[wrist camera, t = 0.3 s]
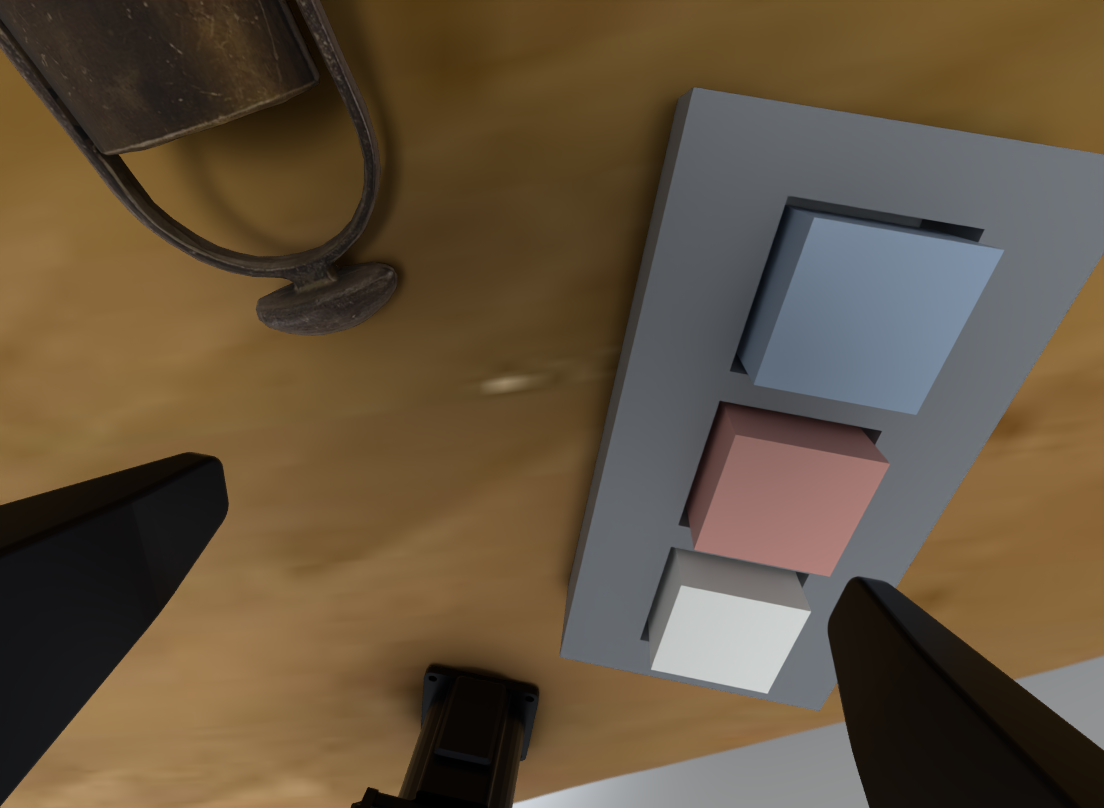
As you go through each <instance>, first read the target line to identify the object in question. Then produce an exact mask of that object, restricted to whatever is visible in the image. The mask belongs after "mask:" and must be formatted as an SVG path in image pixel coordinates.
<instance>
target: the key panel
mask: <svg viewBox="0 0 1104 808" xmlns="http://www.w3.org/2000/svg"><path fill="white" fill-rule="evenodd" d="M785 205H791V206H797V207H803V208H809V209H815V210H820V211H826V212H832V213H838V214H844V215H850V216H855V217H861V218H867V219H873V220H879V221H884V222H890V223H896V224H902V225H908V226H914V227H919V228H925V229H931V230H937V231H940V232H944V233H947V234H950V235H954V236H957V237H961V238H964V239H968V240H971V241H975V242H978V243H982V244H985V245H989V246H992V247H996V248H999V249H1003V250H1004V252H1003V254H1002V256H1001V258H1000V259H999V261H998V263H997V265H996V267H995V269H994V271H993V273H992V274H991V276H990V278H989V280H988V282H987V284H986V286H985V287H984V289H983V291H982V293H981V295H980V297H979V299H978V301H977V302H976V304H975V306H974V308H973V310H972V312H971V314H970V316H969V317H968V319H967V321H966V323H965V325H964V327H963V329H962V330H961V332H960V334H959V336H958V338H957V340H956V342H955V344H954V345H953V347H952V349H951V351H950V353H949V355H948V357H947V359H946V360H945V362H944V364H943V366H942V368H941V370H940V372H939V374H938V375H937V377H936V379H935V381H934V383H933V385H932V387H931V388H930V390H929V392H928V394H927V396H926V398H925V400H924V402H923V403H922V405H921V407H920V409H919V411H918V413H917V415H914V414H909V413H903V412H898V411H892V410H887V409H882V408H876V407H871V406H865V405H860V404H855V403H849V402H844V401H838V400H833V399H828V398H822V397H817V396H811V395H806V394H801V393H795V392H790V391H784V390H779V389H774V388H768V387H763V386H757V385H754V384H753V383H752V381H751V379H750V377H749V375H748V373H747V371H746V370H745V368H744V366H743V364H742V362H741V360H740V358H739V357H738V355H737V353H736V350H737V347H738V344H739V341H740V338H741V335H742V332H743V329H744V326H745V323H746V320H747V317H748V314H749V312H750V309H751V306H752V303H753V300H754V297H755V294H756V291H757V288H758V285H759V282H760V279H761V276H762V273H763V270H764V267H765V264H766V261H767V258H768V255H769V252H770V249H771V246H772V243H773V240H774V237H775V234H776V231H777V228H778V225H779V222H780V219H781V216H782V213H783V210H784V207H785ZM1103 253H1104V155H1103V154H1097V153H1091V152H1085V151H1079V150H1073V149H1067V148H1061V147H1055V146H1049V145H1042V144H1036V143H1030V142H1024V141H1018V140H1012V139H1006V138H1000V137H994V136H988V135H982V134H976V133H969V132H963V131H957V130H951V129H945V128H939V127H933V126H927V125H921V124H915V123H909V122H903V121H896V120H890V119H884V118H878V117H872V116H866V115H860V114H854V113H848V112H842V111H836V110H830V109H823V108H817V107H811V106H805V105H799V104H793V103H787V102H781V101H775V100H769V99H763V98H757V97H750V96H744V95H738V94H732V93H726V92H720V91H714V90H708V89H702V88H696V87H693V88H692V89H690V90H689V91H688V92H686V93H685V94H684V95H682V96H681V97H680V98H678V101H677V106H676V110H675V115H674V119H673V123H672V128H671V132H670V137H669V141H668V146H667V150H666V155H665V159H664V163H663V168H662V172H661V177H660V181H659V186H658V190H657V194H656V199H655V203H654V208H653V212H652V217H651V221H650V225H649V230H648V234H647V239H646V243H645V248H644V252H643V256H642V261H641V265H640V270H639V274H638V279H637V283H636V287H635V292H634V296H633V301H632V305H631V310H630V314H629V319H628V323H627V327H626V332H625V336H624V341H623V345H622V350H621V354H620V358H619V363H618V367H617V372H616V376H615V381H614V385H613V389H612V394H611V398H610V403H609V407H608V412H607V416H606V420H605V425H604V429H603V434H602V438H601V443H600V447H599V451H598V456H597V460H596V465H595V469H594V474H593V478H592V483H591V487H590V491H589V496H588V500H587V505H586V509H585V514H584V518H583V522H582V527H581V531H580V536H579V540H578V545H577V549H576V553H575V558H574V562H573V567H572V571H571V576H570V580H569V584H568V591H567V599H566V608H565V616H564V624H563V632H562V640H561V649H560V657H561V658H566V659H571V660H575V661H580V662H585V663H590V664H595V665H599V666H604V667H609V668H614V669H619V670H624V671H628V672H633V673H638V674H643V675H648V676H652V677H657V678H662V679H667V680H672V681H677V682H681V683H686V684H691V685H696V686H701V687H705V688H710V689H715V690H720V691H725V692H730V693H734V694H739V695H744V696H749V697H754V698H758V699H763V700H768V701H773V702H778V703H783V704H787V705H792V706H797V707H802V708H807V709H812V710H816V711H819V710H820V709H821V707H822V706H823V704H824V702H825V701H826V699H827V698H828V696H829V694H830V693H831V691H832V690H833V688H834V686H835V685H836V683H837V678H836V673H835V668H834V664H833V659H832V654H831V649H830V644H829V639H828V632H827V627H828V620H829V617H830V615H831V613H832V611H833V609H834V607H835V605H836V603H837V601H838V599H839V597H840V595H841V594H842V592H843V590H844V588H845V586H846V584H847V582H848V581H849V580H850V579H851V578H853V577H856V576H861V577H867V578H872V579H877V580H882V581H885V582H887V583H889V584H891V585H892V586H893V587H894V588H896V587H897V585H898V583H899V582H900V580H901V578H902V577H903V575H904V574H905V572H906V570H907V569H908V567H909V566H910V564H911V562H912V561H913V559H914V558H915V556H916V554H917V553H918V551H919V550H920V548H921V546H922V545H923V543H924V541H925V540H926V538H927V537H928V535H929V533H930V532H931V530H932V529H933V527H934V525H935V524H936V522H937V521H938V519H939V517H940V516H941V514H942V512H943V511H944V509H945V508H946V506H947V504H948V503H949V501H950V500H951V498H952V496H953V495H954V493H955V492H956V490H957V488H958V487H959V485H960V484H961V482H962V480H963V479H964V477H965V475H966V474H967V472H968V471H969V469H970V467H971V466H972V464H973V463H974V461H975V459H976V458H977V456H978V455H979V453H980V451H981V450H982V448H983V446H984V445H985V443H986V442H987V440H988V438H989V437H990V435H991V434H992V432H993V430H994V429H995V427H996V426H997V424H998V422H999V421H1000V419H1001V418H1002V416H1003V414H1004V413H1005V411H1006V409H1007V408H1008V406H1009V405H1010V403H1011V401H1012V400H1013V398H1014V397H1015V395H1016V393H1017V392H1018V390H1019V389H1020V387H1021V385H1022V384H1023V382H1024V380H1025V379H1026V377H1027V376H1028V374H1029V372H1030V371H1031V369H1032V368H1033V366H1034V364H1035V363H1036V361H1037V360H1038V358H1039V356H1040V355H1041V353H1042V352H1043V350H1044V348H1045V347H1046V345H1047V343H1048V342H1049V340H1050V339H1051V337H1052V335H1053V334H1054V332H1055V331H1056V329H1057V327H1058V326H1059V324H1060V323H1061V321H1062V319H1063V318H1064V316H1065V314H1066V313H1067V311H1068V310H1069V308H1070V306H1071V305H1072V303H1073V302H1074V300H1075V298H1076V297H1077V295H1078V294H1079V292H1080V290H1081V289H1082V287H1083V286H1084V284H1085V282H1086V281H1087V279H1088V277H1089V276H1090V274H1091V273H1092V271H1093V269H1094V268H1095V266H1096V265H1097V263H1098V261H1099V260H1100V258H1101V257H1102V255H1103ZM719 401H724V402H730V403H735V404H740V405H746V406H751V407H757V408H762V409H767V410H773V411H778V412H783V413H789V414H794V415H799V416H805V417H810V418H815V419H821V420H826V421H832V422H837V423H842V424H848V425H853V426H858V427H860V428H861V429H862V430H863V432H864V433H865V434H866V435H867V437H868V438H869V439H870V440H871V441H872V443H873V444H874V445H875V446H876V447H877V449H878V450H879V451H880V452H881V453H882V455H883V456H884V457H885V458H886V459H887V461H888V462H889V463H890V465H889V467H888V469H887V471H886V473H885V475H884V476H883V478H882V480H881V482H880V484H879V486H878V488H877V489H876V491H875V493H874V495H873V497H872V499H871V501H870V503H869V504H868V506H867V508H866V510H865V512H864V514H863V516H862V518H861V519H860V521H859V523H858V525H857V527H856V529H855V531H854V532H853V534H852V536H851V538H850V540H849V542H848V544H847V546H846V547H845V549H844V551H843V553H842V555H841V557H840V559H839V561H838V562H837V564H836V566H835V568H834V570H833V572H832V574H831V576H830V577H828V576H823V575H818V574H813V573H808V572H803V571H798V570H793V569H788V568H783V567H778V566H773V565H768V564H762V563H757V562H752V561H747V560H742V559H737V558H732V557H727V556H722V555H717V554H712V553H707V552H702V551H697V550H694V547H693V541H692V536H691V530H690V524H689V518H688V513H687V507H686V500H687V497H688V494H689V491H690V488H691V485H692V482H693V479H694V476H695V473H696V470H697V467H698V464H699V461H700V458H701V455H702V452H703V449H704V446H705V443H706V440H707V437H708V434H709V431H710V428H711V425H712V422H713V419H714V416H715V413H716V410H717V407H718V404H719ZM671 547H675V548H680V549H685V550H690V551H695V552H700V553H705V554H710V555H715V556H720V557H725V558H731V559H736V560H741V561H746V562H751V563H756V564H761V565H766V566H771V567H776V568H781V569H786V570H791V571H795V572H796V575H797V577H798V580H799V582H800V585H801V587H802V590H803V592H804V595H805V597H806V600H807V602H808V605H809V607H810V610H811V613H810V615H809V617H808V619H807V620H806V622H805V624H804V626H803V628H802V630H801V632H800V633H799V635H798V637H797V639H796V641H795V643H794V645H793V647H792V648H791V650H790V652H789V654H788V656H787V658H786V660H785V662H784V663H783V665H782V667H781V669H780V671H779V673H778V675H777V677H776V678H775V680H774V682H773V684H772V686H771V688H770V690H769V691H768V693H762V692H757V691H752V690H747V689H742V688H738V687H733V686H728V685H723V684H718V683H713V682H709V681H704V680H699V679H694V678H689V677H684V676H680V675H675V674H670V673H665V672H660V671H655V670H651V664H650V645H649V627H648V614H649V611H650V608H651V605H652V602H653V599H654V596H655V593H656V590H657V587H658V584H659V581H660V578H661V575H662V572H663V569H664V566H665V563H666V560H667V557H668V554H669V551H670V548H671Z"/></svg>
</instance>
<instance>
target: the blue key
mask: <svg viewBox="0 0 1104 808" xmlns="http://www.w3.org/2000/svg"><path fill="white" fill-rule="evenodd" d="M1003 252H1004V250H1003V249H999V248H996V247H992V246H989V245H985V244H982V243H978V242H975V241H971V240H968V239H964V238H961V237H957V236H954V235H950V234H947V233H944V232H940V231H937V230H931V229H925V228H919V227H914V226H908V225H902V224H896V223H890V222H884V221H879V220H873V219H867V218H861V217H855V216H850V215H844V214H838V213H832V212H826V211H820V210H815V209H809V208H803V207H797V206H791V205H785V207H784V210H783V213H782V216H781V219H780V222H779V225H778V228H777V231H776V234H775V237H774V240H773V243H772V246H771V249H770V252H769V255H768V258H767V261H766V264H765V267H764V270H763V273H762V276H761V279H760V282H759V285H758V288H757V291H756V294H755V297H754V300H753V303H752V306H751V309H750V312H749V314H748V317H747V320H746V323H745V326H744V329H743V332H742V335H741V338H740V341H739V344H738V347H737V350H736V353H737V355H738V357H739V358H740V360H741V362H742V364H743V366H744V368H745V370H746V371H747V373H748V375H749V377H750V379H751V381H752V383H753V384H754V385H757V386H763V387H768V388H774V389H779V390H784V391H790V392H795V393H801V394H806V395H811V396H817V397H822V398H828V399H833V400H838V401H844V402H849V403H855V404H860V405H865V406H871V407H876V408H882V409H887V410H892V411H898V412H903V413H909V414H914V415H917V413H918V411H919V409H920V407H921V405H922V403H923V402H924V400H925V398H926V396H927V394H928V392H929V390H930V388H931V387H932V385H933V383H934V381H935V379H936V377H937V375H938V374H939V372H940V370H941V368H942V366H943V364H944V362H945V360H946V359H947V357H948V355H949V353H950V351H951V349H952V347H953V345H954V344H955V342H956V340H957V338H958V336H959V334H960V332H961V330H962V329H963V327H964V325H965V323H966V321H967V319H968V317H969V316H970V314H971V312H972V310H973V308H974V306H975V304H976V302H977V301H978V299H979V297H980V295H981V293H982V291H983V289H984V287H985V286H986V284H987V282H988V280H989V278H990V276H991V274H992V273H993V271H994V269H995V267H996V265H997V263H998V261H999V259H1000V258H1001V256H1002V254H1003Z"/></svg>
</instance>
